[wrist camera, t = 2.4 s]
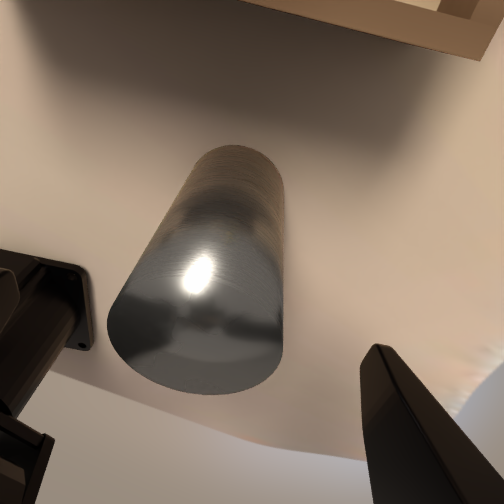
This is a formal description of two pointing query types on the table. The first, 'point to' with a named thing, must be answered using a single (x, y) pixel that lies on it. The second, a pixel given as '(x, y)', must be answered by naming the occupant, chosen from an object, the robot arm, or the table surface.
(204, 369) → the metal peg
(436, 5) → the walnut box
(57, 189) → the table surface
